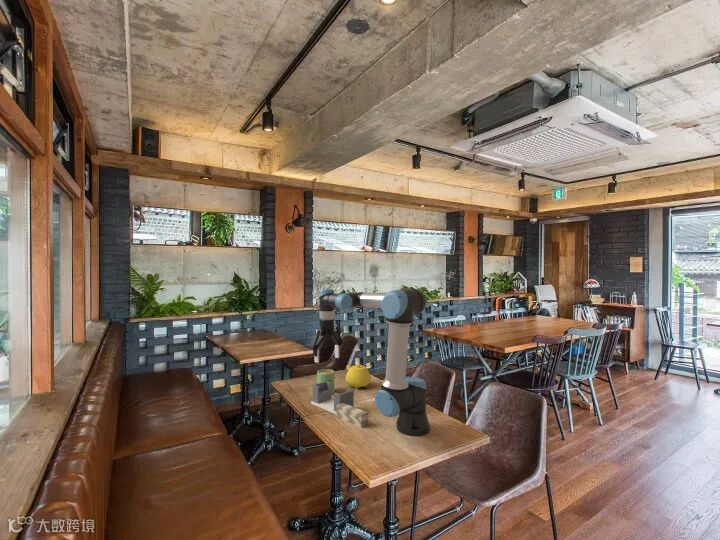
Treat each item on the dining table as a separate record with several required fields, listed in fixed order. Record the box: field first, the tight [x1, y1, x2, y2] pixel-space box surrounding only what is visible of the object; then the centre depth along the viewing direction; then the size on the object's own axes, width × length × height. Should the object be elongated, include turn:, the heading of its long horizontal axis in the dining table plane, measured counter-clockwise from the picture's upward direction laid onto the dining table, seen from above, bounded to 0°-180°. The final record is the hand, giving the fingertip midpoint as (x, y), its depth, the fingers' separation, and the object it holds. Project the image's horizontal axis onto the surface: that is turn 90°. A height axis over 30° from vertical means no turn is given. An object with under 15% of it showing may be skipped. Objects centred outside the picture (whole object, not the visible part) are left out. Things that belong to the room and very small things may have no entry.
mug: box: [316, 368, 335, 395], centre depth 223 cm, size 13×10×12 cm
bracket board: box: [310, 381, 355, 416], centre depth 199 cm, size 23×11×10 cm, turn 45°
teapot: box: [345, 363, 372, 391], centre depth 234 cm, size 20×16×14 cm
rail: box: [336, 403, 369, 428], centre depth 182 cm, size 17×4×6 cm, turn 46°
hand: (327, 359), depth 195 cm, fingers open, 13 cm apart
